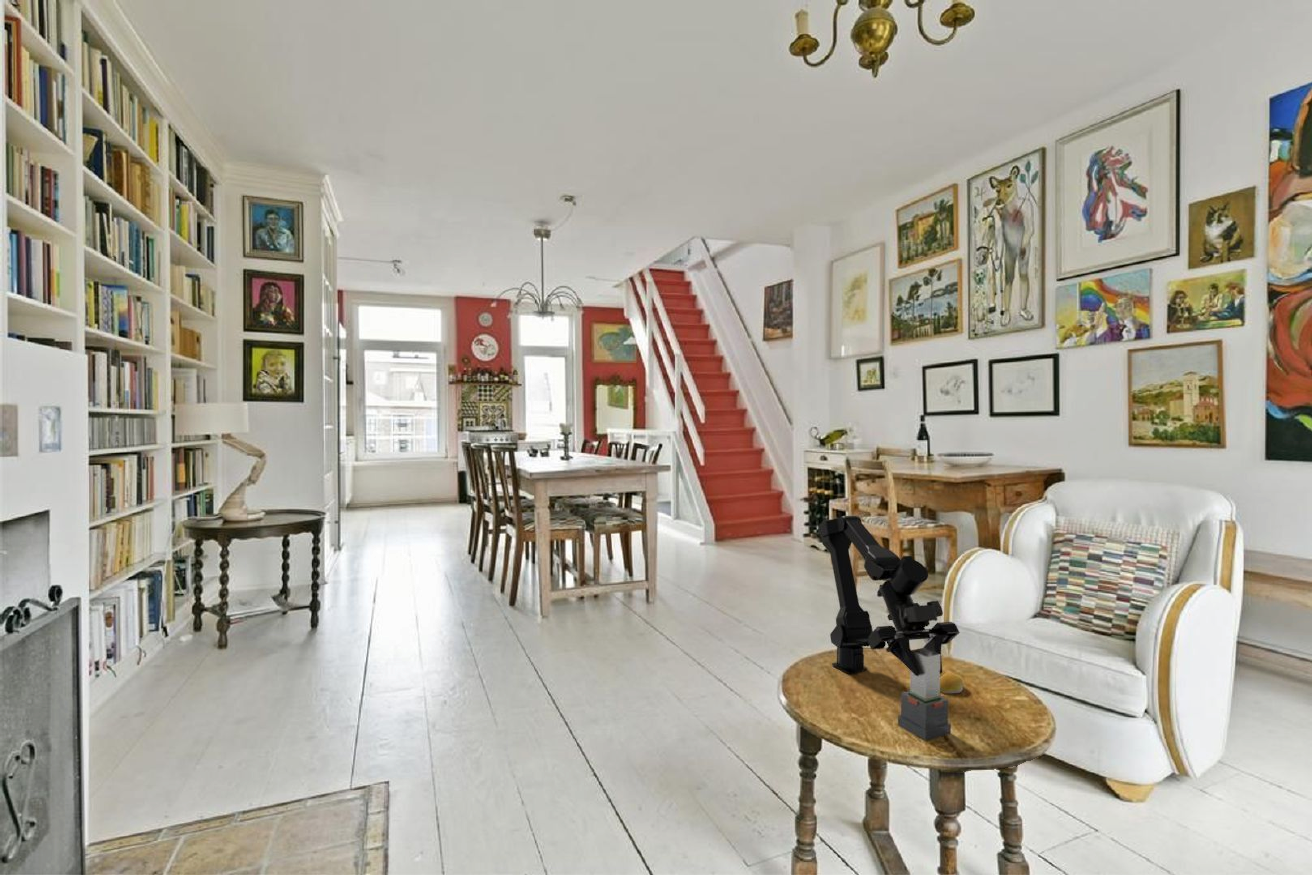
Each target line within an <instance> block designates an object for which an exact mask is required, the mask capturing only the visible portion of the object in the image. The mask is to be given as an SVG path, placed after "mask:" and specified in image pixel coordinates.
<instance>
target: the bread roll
mask: <svg viewBox="0 0 1312 875" xmlns="http://www.w3.org/2000/svg"><path fill="white" fill-rule="evenodd" d="M963 690H964V681H963V680H962V678H961V677H960V676H959V675H957V674H955V673H951V672H945V670H943V669H942V673H941V674H940V693H942V694H950V695H951V694H960V693H961V692H962V691H963Z"/></svg>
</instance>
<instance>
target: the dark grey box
mask: <svg viewBox="0 0 1312 875" xmlns="http://www.w3.org/2000/svg"><path fill="white" fill-rule="evenodd" d="M909 691H910V690H908V691H904V692H901V696H900V698H901V699H900V700H901V702H900V703H901V704H900V715H898V716H897V726H899V727H901V728H902V729H904V730H906V731H907V732H910V733H911V734H912V735H915V736H916V737H918V738H919V739H922V740H923V741H925V742H926V741H930V740H932V739H933V740H934V739H936V738H940V737H943V736H946V735H950V734H951V732H952V731H951V730H952V728H951V726H952V724H951V723H950V722H949V699H948V698H946V697H943V696H941V695H940V699H939V700H936V701H933V702H929V703H924V702H922V701H920V700H918V699H916V698H914V697H913V696H911V695H910V694H909Z"/></svg>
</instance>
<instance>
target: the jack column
mask: <svg viewBox="0 0 1312 875" xmlns="http://www.w3.org/2000/svg"><path fill="white" fill-rule="evenodd" d="M911 652H912V654H913V656H914V659H915V661H916V663H917V666H918V669H919V672H920V675H919V676H916V675H915V674H914V673H913V672H912V671H911V670H910V684H909V685H910V686H909V687H910V688H909V690H908V691H909V694H910V695H911V696H913V697H914V698H916V699H918V700H920V701H922V702H924V703H929V702H933V701H936V700H939V699H940V696H941V694H940V693H941V692H940V656H941V657H942V653H941V654H939V653H937V652H934V651H932V650H930V649H927V648H923V647H921V648H916V649H911Z"/></svg>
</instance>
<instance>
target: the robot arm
mask: <svg viewBox="0 0 1312 875" xmlns="http://www.w3.org/2000/svg"><path fill="white" fill-rule="evenodd" d="M817 529H818V535H819V537H820V540H821V544H822V546H823V547H825V549H826V550H827V551H828V552H829V554H830V559H831V565H832V570H833V571H832V572H833V576H834V582H835V587H836V592H837V597H838V598H837V599H838V603H839V611H838V613H837V615H836V617H835V625H836V626H835V627H834V629H833V630H832V631H831V633H830V635H829V636H830V642H831V644H833V645H834V646H835V647H836V662H832V663H831V666H832V667H834V668H836V669H838V670H840V671H842V672H844V673H846V674H848V675H851V674H855V673H861V672H866V671H868V667H866V666H864V664H865V663H864V662H865V660H864V659H865V658H864V657H865V654H864V647H867V648H868V647H870V648H869V649H871V650H883V649H884V648H885V651H886V652H887V653H891V654H892V655H894V656H895V658H897V659H898V660H899V661H900V662H901V663H903V665H905V666H906V668H908V669H909V671H910V672H911V671H912V672H913V673H914V674H915V675H916V676H919V675H920V672H919V669H918V666H917V663H916V661H915V659H914V656H913V654H912V652H911V650H912V649H911V646H910V644H911V643H910V640H911V641H914V640H915V641H916V640H923V641H924V643H925V645H924V646H922V648H927V649H930V650H932V651H934V652H937V653H939V654H941V656H940V674H941V673H942V670H943V664H942V663H943V661H942V645H947V644H949V643H950V642H951V641H953V639H955V638H956V637H957V636H958V635H959V634H960V633H961V632H960V630H959V628H958V626H957V625H956V623H954V622H952V621H943V622H936V621H938V617H942V616H943V614H944V612H943V608H942V606H941V604H940V602H939V601H938V600H935V601H934V600H930V601H927V602H926V605H924V604H922V605H920V604H919V603H918V602H914V600H913V598H912V596H911V595H915V594H916V592H917V591H918V590H919V589H920V588H921V587H922V586H923V584H924V583H925V582H926V581H927V580H928V577H929V572H928V569H927V567H926V566H924V564H922V562H921V563H920V561H917V560H915V559H914V558H913V556H912V555H903V556H902V557H901V558H900V557H899V556H898V555H897V554H896V553H895V552H893V550H891V549H888V548H886V547H883V546H882V545H881V544H879V542H878V541H877V540H876V538H875V537H874V536H873V534H871V532H870V531H869V530H868V528H866V526H865V525H864V524H863V521H862V519H861V517H859V516H857V515H842V516H840V517H837V518H833V519H831V518H830V519H823V520H822V521H821V523H819V525H818V527H817ZM851 545H853V546H854V547H855V548H856V550H857V551H858V552H859V553H860V555H861V556H862V558H863V559H864V564H863V567H864V569H865V572H866V573H867V575H868V576H869V578H870V579H871V580H872V581H876V582H877V581H884V582H883V583H882V584H879V585H878V586H879V587H878V590H877V594H876V596H877V598H881V597H882V598H883V601H884V603H885V606H886V608H887V610H888V613H889V614H888V615H887V619H888V621H892V623H893V625H882V626H876V627H875V628H874V630H873V625H872V623H871V618H870V613H869V612H868V610H864V609H863V608H862V606H861V605H860V601H859V597H858V592H857V587H856V582H855V576H854V571H853V566H852V561H851V556H850V548H851ZM930 621H934V622H936V623H935V625H934V626H932V628H928V629H927V628H926V627H928V626H930ZM886 644H887V646H888V647H886Z"/></svg>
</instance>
